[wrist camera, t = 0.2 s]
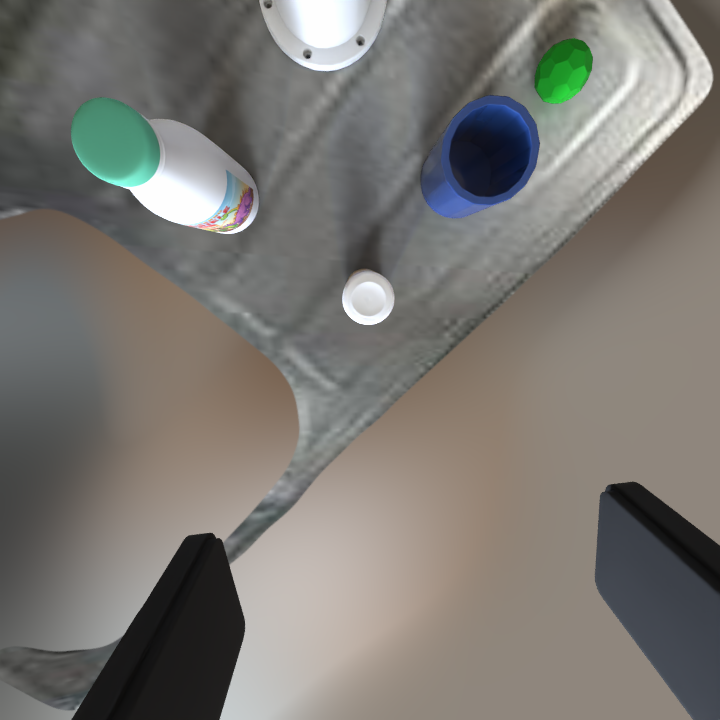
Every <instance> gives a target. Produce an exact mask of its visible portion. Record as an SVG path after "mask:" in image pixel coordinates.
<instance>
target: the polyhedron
mask: <svg viewBox="0 0 720 720" xmlns="http://www.w3.org/2000/svg"><path fill="white" fill-rule="evenodd" d="M592 60H593V57H592V54H591V51H590V48H589V47H588V46H587V45H586V43H585V42H584V41H582V40H578V39H575V38H572V39H568V40H563V41H561V42H559V43H557V44H555V45H553V46H552V47H551V48H550V49H549V50H548V51H547V52H546V53H545V54H544V56H543V58H542V59H541V61H540V63H539V64H538V67H537V70H536V74H535V89H536V91H537V92H538V94H539V96H540V97H541V99H542V100H543V101H545V102H548V103H552V104H554V103H562V102H564V101H567V100H569V99H571V98H572V97H573V96H575V95H576V94H577V93H578V92H579V91H581V89H582V87H583V86H584V84H585V83H586V81H587V80H588V77H589V75H590V72H591V70H592Z"/></svg>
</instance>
